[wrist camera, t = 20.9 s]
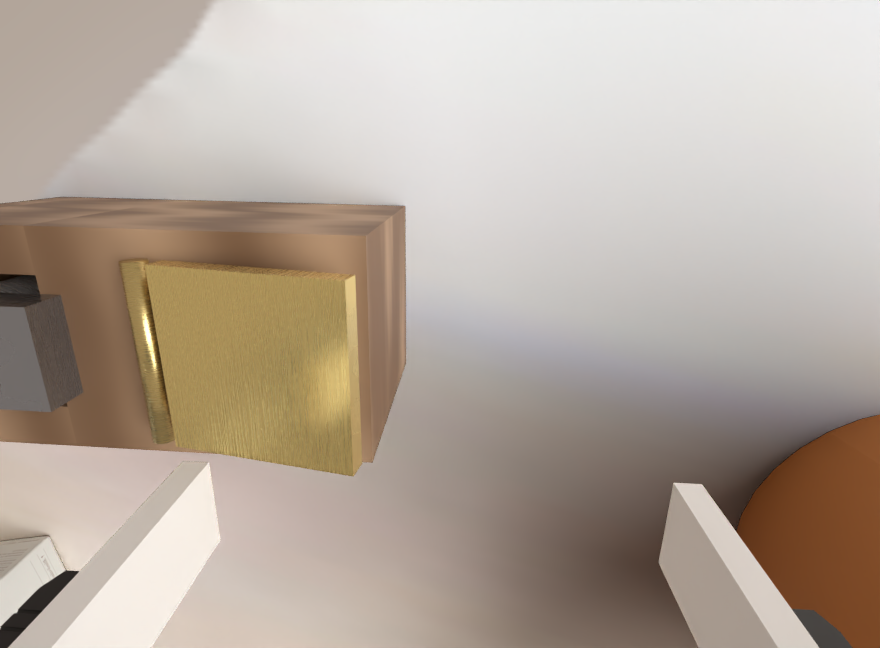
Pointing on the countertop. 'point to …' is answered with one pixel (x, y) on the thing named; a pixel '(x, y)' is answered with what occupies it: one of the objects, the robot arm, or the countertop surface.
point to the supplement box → (25, 571)
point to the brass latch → (248, 360)
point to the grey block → (34, 349)
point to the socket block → (200, 241)
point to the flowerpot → (824, 529)
